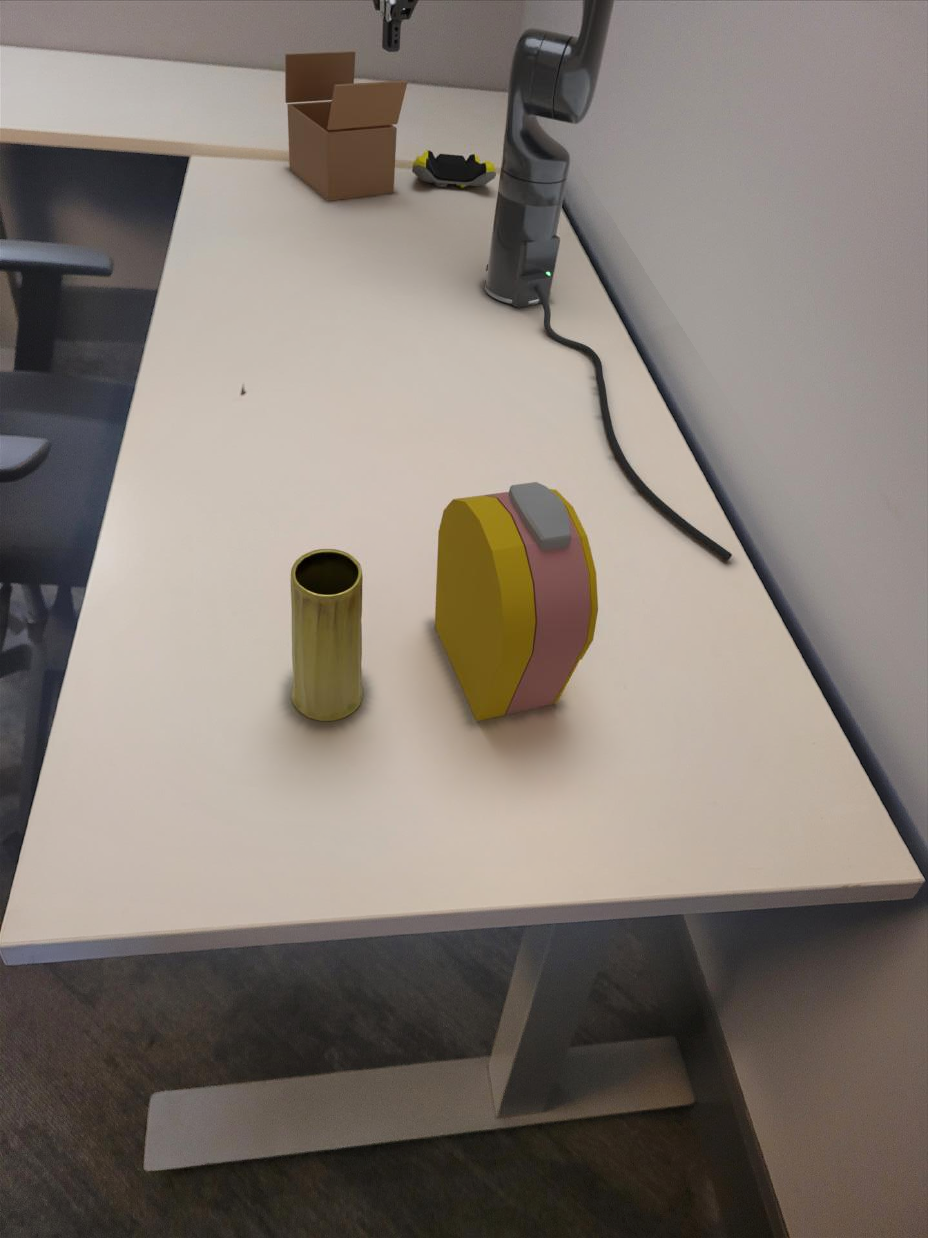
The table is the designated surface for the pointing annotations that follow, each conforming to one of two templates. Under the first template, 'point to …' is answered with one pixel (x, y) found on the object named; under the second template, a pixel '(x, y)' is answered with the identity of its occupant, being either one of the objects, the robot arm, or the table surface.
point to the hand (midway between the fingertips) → (390, 49)
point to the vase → (326, 634)
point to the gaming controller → (453, 170)
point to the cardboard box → (333, 132)
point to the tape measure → (514, 597)
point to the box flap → (366, 104)
